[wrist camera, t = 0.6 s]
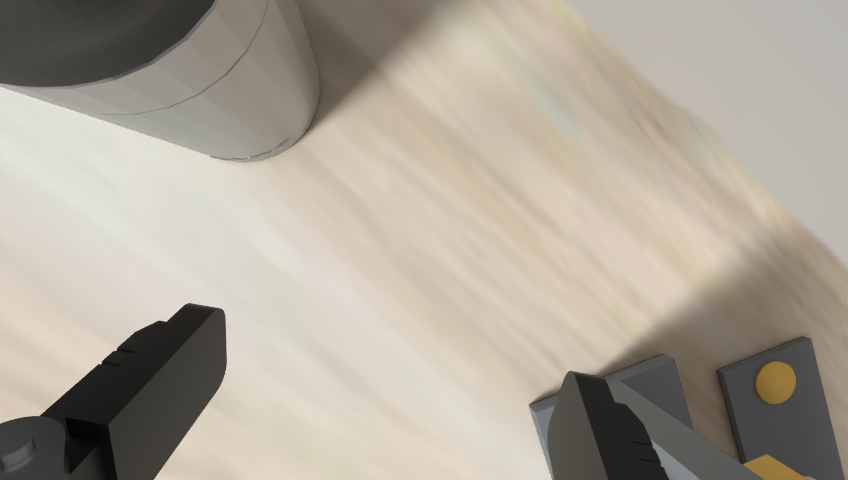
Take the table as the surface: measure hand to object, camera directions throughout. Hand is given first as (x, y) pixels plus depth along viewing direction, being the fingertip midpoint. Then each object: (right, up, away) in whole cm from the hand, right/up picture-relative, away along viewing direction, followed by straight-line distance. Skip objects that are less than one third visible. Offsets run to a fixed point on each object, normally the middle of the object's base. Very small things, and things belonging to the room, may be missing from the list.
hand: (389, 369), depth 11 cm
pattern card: (+28, -15, +23) cm, 39 cm away
